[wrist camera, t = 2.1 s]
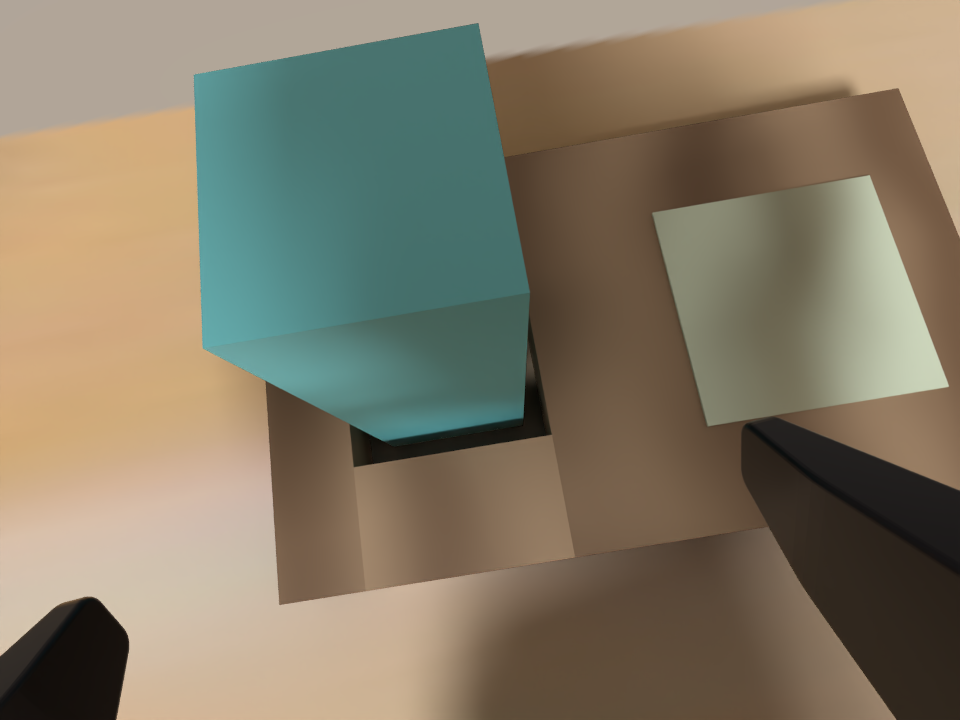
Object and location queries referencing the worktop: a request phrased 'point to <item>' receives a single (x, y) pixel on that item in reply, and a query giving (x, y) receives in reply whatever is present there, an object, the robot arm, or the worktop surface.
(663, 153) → the puzzle board
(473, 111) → the teal block
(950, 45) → the worktop surface
